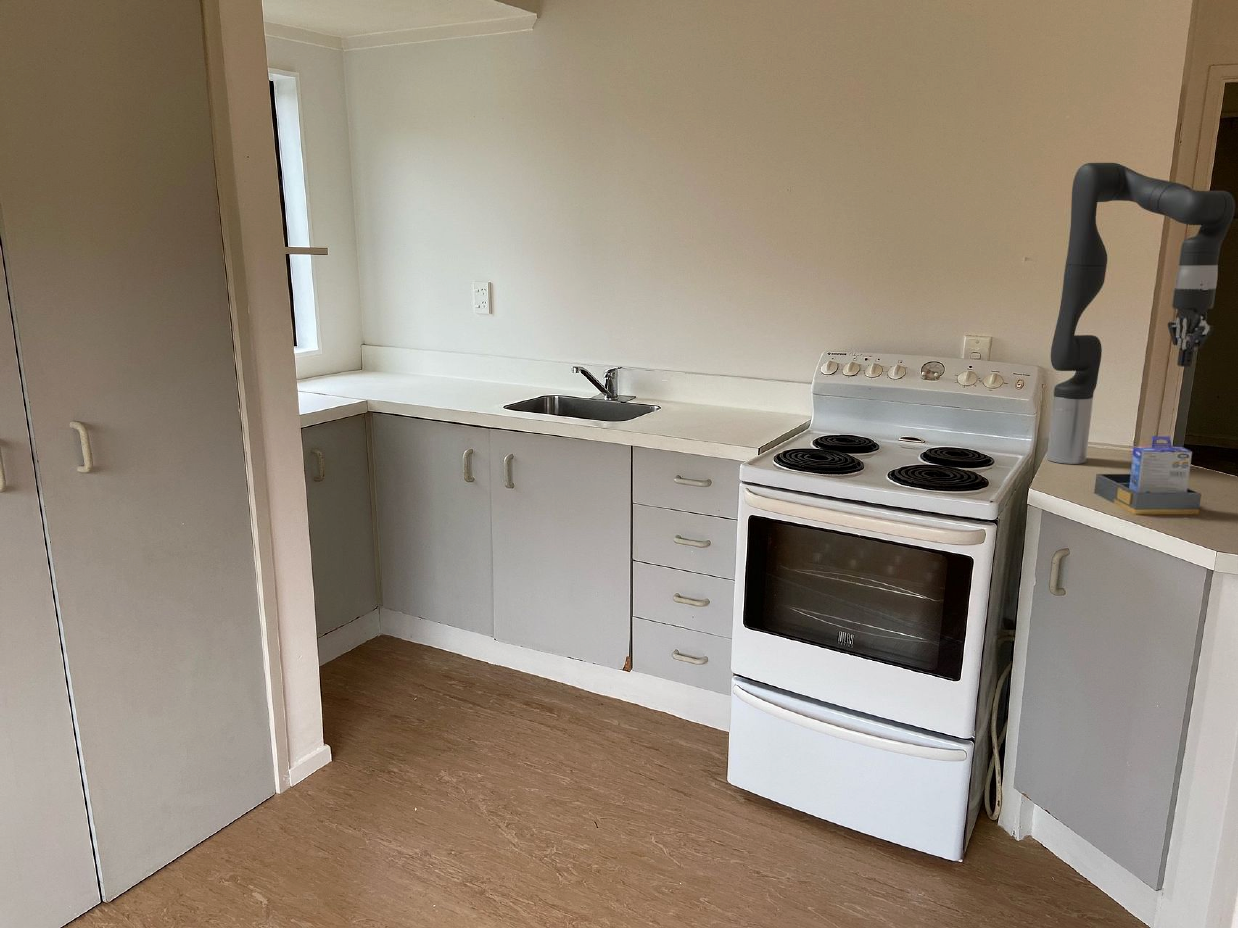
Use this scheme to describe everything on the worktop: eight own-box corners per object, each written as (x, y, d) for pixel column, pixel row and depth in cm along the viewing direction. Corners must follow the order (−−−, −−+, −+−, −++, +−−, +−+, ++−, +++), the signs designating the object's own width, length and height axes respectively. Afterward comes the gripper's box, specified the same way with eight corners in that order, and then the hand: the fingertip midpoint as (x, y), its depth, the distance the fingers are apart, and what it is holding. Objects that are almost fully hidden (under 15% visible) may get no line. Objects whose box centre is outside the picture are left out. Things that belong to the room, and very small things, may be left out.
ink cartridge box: (1174, 500, 184) (1184, 435, 180) (1186, 508, 178) (1196, 441, 175) (1125, 499, 185) (1133, 434, 182) (1135, 506, 180) (1144, 440, 177)
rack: (1092, 492, 195) (1095, 473, 194) (1152, 492, 194) (1154, 473, 193) (1133, 514, 178) (1135, 493, 177) (1198, 514, 177) (1201, 493, 176)
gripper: (1159, 286, 190) (1149, 363, 194) (1196, 288, 177) (1184, 370, 181) (1194, 285, 190) (1183, 362, 194) (1233, 287, 177) (1220, 369, 181)
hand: (1184, 366), depth 187 cm, fingers closed
